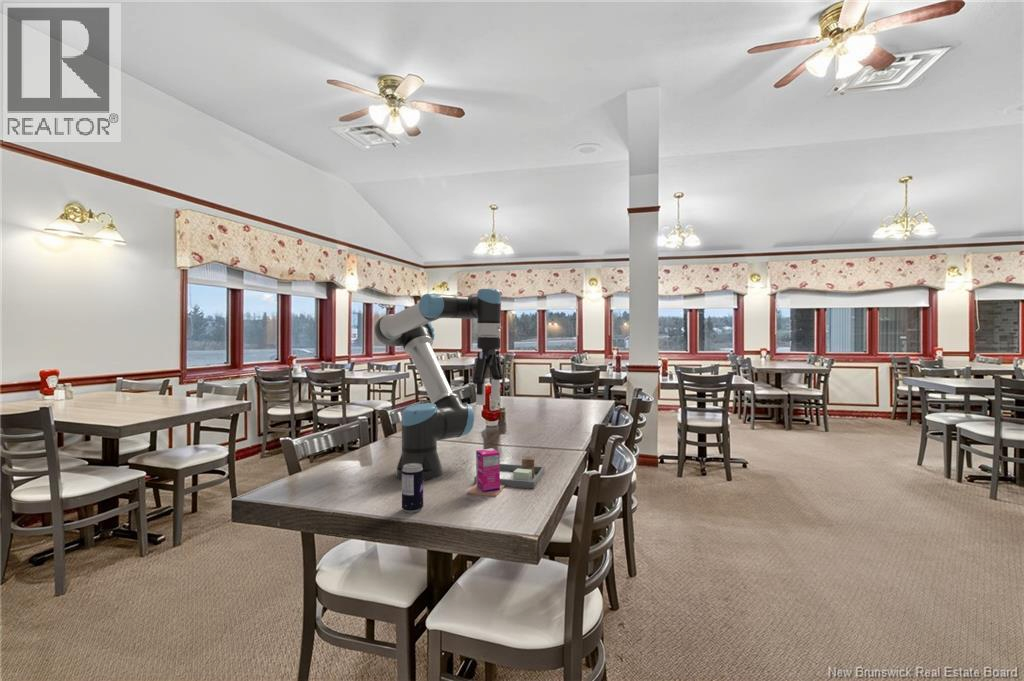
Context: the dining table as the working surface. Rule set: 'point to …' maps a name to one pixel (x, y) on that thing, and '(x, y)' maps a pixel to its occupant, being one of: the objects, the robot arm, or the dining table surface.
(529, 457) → the walnut block
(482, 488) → the supplement box
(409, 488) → the beverage can
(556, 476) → the dining table surface
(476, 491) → the pad
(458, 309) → the robot arm
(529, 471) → the pale green box
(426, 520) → the dining table surface
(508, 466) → the bin
